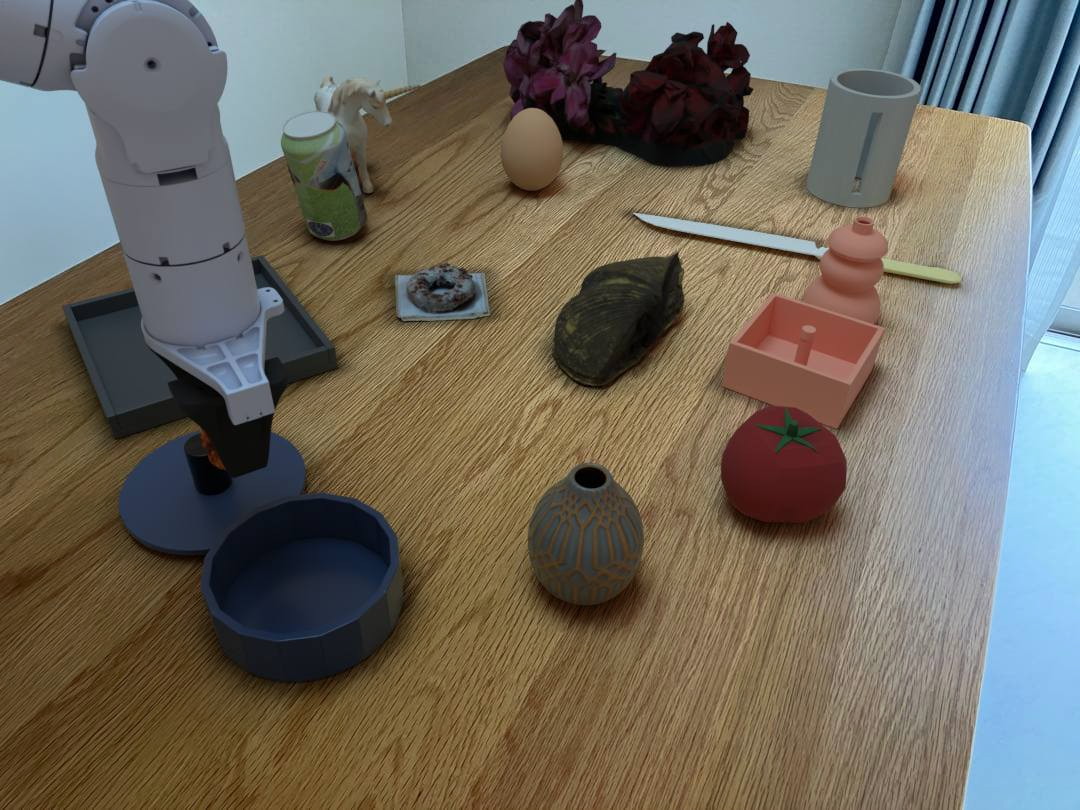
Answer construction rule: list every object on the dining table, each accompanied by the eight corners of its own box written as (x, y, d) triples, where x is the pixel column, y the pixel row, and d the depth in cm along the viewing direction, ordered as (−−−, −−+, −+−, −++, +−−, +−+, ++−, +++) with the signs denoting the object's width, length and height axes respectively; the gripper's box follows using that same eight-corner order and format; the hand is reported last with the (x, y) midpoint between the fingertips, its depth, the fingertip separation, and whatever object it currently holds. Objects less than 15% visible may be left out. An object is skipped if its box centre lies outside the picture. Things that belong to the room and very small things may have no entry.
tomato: (852, 530, 59) (880, 448, 55) (743, 554, 57) (763, 471, 53) (792, 452, 65) (813, 373, 60) (692, 472, 63) (706, 392, 59)
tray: (114, 439, 64) (106, 417, 63) (69, 326, 76) (61, 305, 74) (338, 368, 72) (334, 346, 70) (266, 274, 83) (262, 254, 82)
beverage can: (380, 228, 91) (369, 112, 83) (330, 257, 86) (313, 137, 78) (334, 212, 93) (319, 98, 86) (283, 239, 88) (262, 121, 81)
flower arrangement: (749, 120, 116) (770, -2, 107) (736, 181, 101) (760, 46, 92) (520, 93, 122) (521, -25, 113) (476, 148, 107) (473, 17, 98)
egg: (550, 206, 95) (553, 124, 90) (491, 196, 97) (491, 115, 92) (569, 181, 101) (572, 102, 95) (513, 171, 102) (513, 94, 97)
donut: (394, 322, 77) (393, 302, 76) (396, 276, 83) (394, 257, 82) (490, 318, 78) (490, 298, 77) (484, 273, 84) (484, 254, 83)
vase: (580, 521, 59) (587, 420, 54) (660, 580, 55) (677, 478, 50) (503, 577, 55) (503, 474, 50) (584, 644, 51) (593, 540, 46)
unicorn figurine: (369, 228, 90) (355, 98, 82) (288, 163, 102) (269, 43, 94) (430, 211, 94) (422, 83, 86) (345, 149, 106) (331, 33, 98)
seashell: (629, 399, 69) (616, 319, 65) (532, 383, 74) (515, 308, 70) (710, 301, 80) (703, 228, 76) (621, 293, 84) (611, 224, 81)
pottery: (837, 429, 67) (870, 320, 61) (721, 386, 71) (741, 279, 65) (900, 321, 79) (934, 221, 73) (799, 289, 83) (822, 192, 77)
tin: (250, 716, 47) (237, 674, 45) (192, 579, 55) (178, 536, 52) (434, 627, 52) (431, 585, 50) (359, 512, 59) (352, 470, 57)
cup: (858, 168, 105) (885, 65, 98) (906, 202, 98) (939, 93, 91) (791, 177, 103) (814, 72, 95) (835, 212, 96) (863, 101, 88)
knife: (635, 204, 95) (624, 215, 91) (961, 262, 87) (965, 276, 83) (634, 216, 96) (623, 227, 92) (957, 274, 87) (961, 289, 83)
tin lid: (148, 590, 54) (127, 538, 51) (104, 474, 62) (85, 423, 59) (334, 516, 59) (326, 465, 56) (273, 417, 67) (262, 368, 64)
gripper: (318, 283, 40) (350, 498, 49) (222, 166, 50) (263, 363, 58) (156, 326, 37) (221, 548, 46) (87, 193, 47) (151, 397, 55)
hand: (237, 447), depth 52 cm, fingers closed on meatball, 4 cm apart
